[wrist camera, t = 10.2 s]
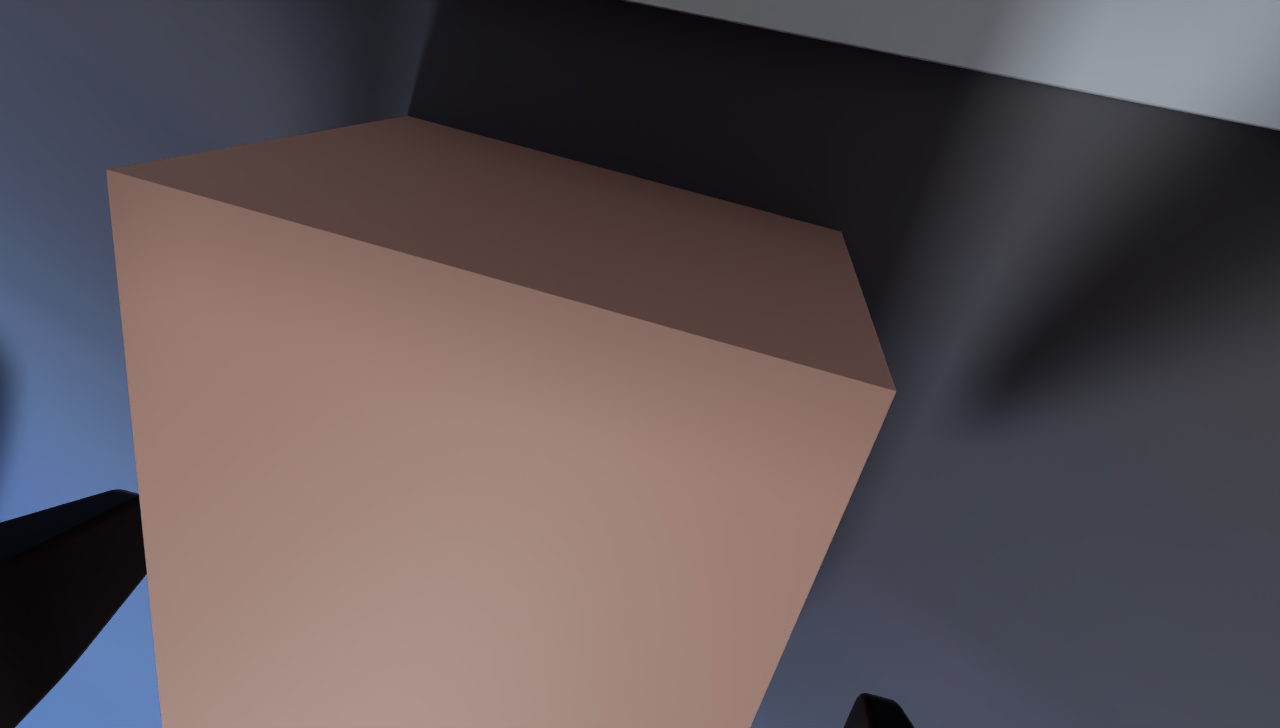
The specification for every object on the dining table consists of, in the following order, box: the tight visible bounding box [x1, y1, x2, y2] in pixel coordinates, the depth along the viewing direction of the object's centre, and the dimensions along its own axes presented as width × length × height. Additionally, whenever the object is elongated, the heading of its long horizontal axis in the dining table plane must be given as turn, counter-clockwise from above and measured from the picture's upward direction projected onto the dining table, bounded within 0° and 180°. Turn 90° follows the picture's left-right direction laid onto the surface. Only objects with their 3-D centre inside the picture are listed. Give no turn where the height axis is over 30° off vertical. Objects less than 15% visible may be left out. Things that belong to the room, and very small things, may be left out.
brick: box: [106, 116, 896, 728], centre depth 10 cm, size 10×6×5 cm, turn 167°
